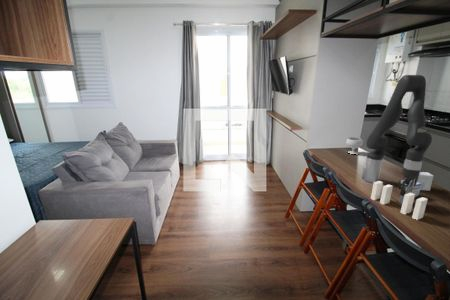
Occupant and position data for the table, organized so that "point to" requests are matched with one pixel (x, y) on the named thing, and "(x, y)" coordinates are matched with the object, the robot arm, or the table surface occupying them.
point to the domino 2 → (386, 194)
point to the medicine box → (416, 189)
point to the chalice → (354, 144)
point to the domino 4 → (407, 203)
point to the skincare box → (425, 180)
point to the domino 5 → (419, 208)
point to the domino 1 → (376, 190)
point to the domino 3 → (406, 193)
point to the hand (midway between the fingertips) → (405, 194)
